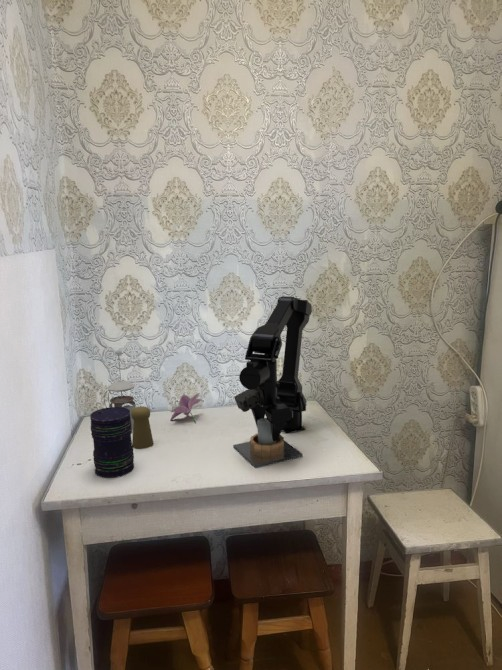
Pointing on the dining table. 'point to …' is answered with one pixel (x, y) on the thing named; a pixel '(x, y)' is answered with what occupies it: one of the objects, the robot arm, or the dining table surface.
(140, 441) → the cork
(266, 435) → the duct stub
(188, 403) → the lily
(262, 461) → the duct collar
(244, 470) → the dining table surface
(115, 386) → the french press
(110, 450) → the storage jar
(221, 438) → the dining table surface
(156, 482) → the dining table surface
